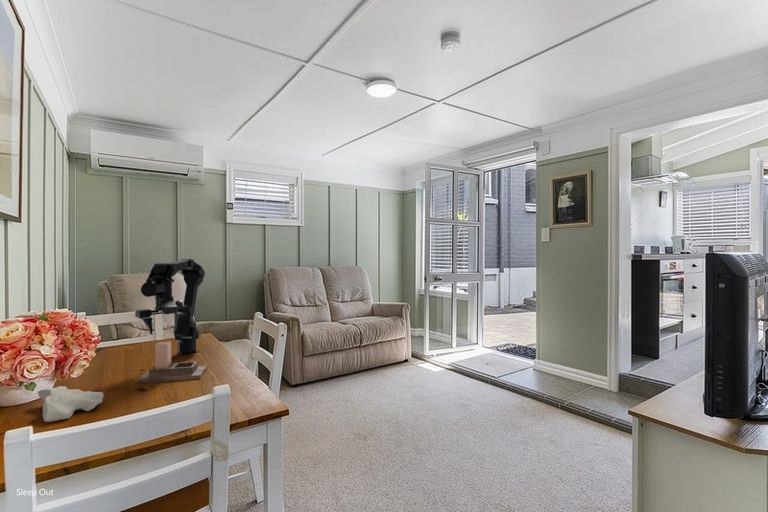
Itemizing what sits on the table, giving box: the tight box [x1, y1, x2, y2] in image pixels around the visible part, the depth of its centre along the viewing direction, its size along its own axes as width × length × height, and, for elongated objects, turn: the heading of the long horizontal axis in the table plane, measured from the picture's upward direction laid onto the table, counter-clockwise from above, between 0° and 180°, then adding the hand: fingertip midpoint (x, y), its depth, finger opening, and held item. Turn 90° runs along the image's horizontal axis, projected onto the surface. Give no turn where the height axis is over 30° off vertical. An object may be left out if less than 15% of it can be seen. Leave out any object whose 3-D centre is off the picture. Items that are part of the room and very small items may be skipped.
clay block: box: [154, 341, 172, 369], centre depth 136 cm, size 4×4×11 cm
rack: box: [136, 360, 208, 384], centre depth 137 cm, size 12×20×4 cm, turn 105°
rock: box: [37, 385, 104, 423], centre depth 109 cm, size 21×5×15 cm
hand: (164, 332), depth 151 cm, fingers open, 9 cm apart
